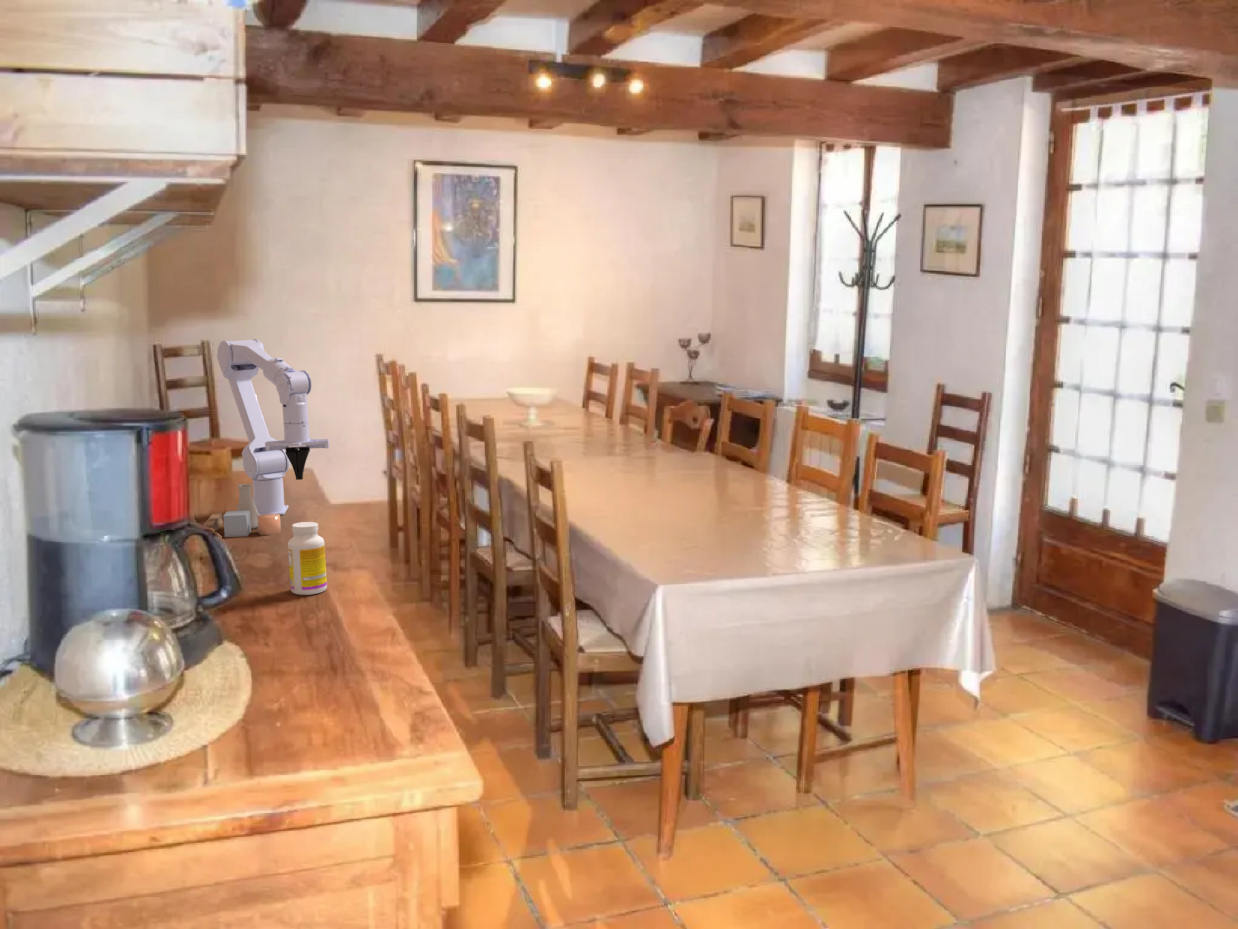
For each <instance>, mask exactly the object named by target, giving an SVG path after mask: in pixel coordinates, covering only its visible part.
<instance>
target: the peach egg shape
mask: <svg viewBox="0 0 1238 929" xmlns="http://www.w3.org/2000/svg"><path fill="white" fill-rule="evenodd" d="M257 520H258V527H257V532H258V535H260V536H273V535H278V534H281V533H282V530H281V529H282V526H281V525H282V524H281V515H279V514H262V515H259V516H257Z"/></svg>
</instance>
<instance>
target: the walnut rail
mask: <svg viewBox="0 0 1238 929" xmlns="http://www.w3.org/2000/svg"><path fill="white" fill-rule="evenodd" d="M222 524H224V518H223V512H215V513H211V515H210V516H209V517H208V518H207V520H206V521H205V522H204V523H203V524H202V525H204V526H207V527H209V528H213V529H214V530H215V531H216V532H217V531H218V529H219V528H220V527H221V526H222Z"/></svg>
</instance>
